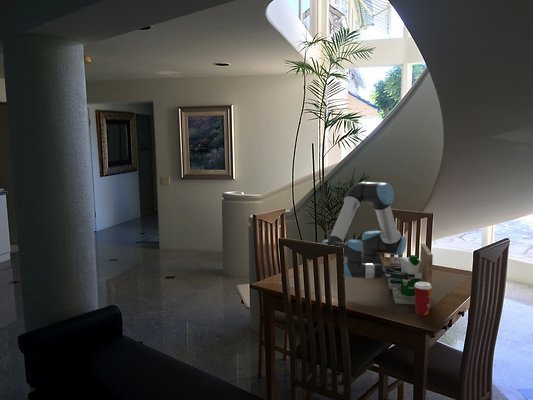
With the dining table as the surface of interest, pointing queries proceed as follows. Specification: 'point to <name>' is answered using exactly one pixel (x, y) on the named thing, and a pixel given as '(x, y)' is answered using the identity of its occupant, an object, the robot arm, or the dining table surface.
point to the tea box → (394, 281)
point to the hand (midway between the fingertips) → (419, 272)
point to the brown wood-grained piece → (426, 277)
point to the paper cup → (422, 297)
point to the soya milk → (412, 266)
